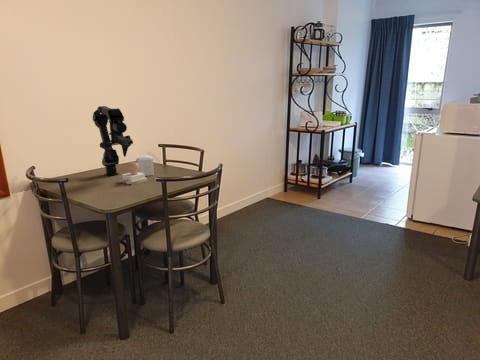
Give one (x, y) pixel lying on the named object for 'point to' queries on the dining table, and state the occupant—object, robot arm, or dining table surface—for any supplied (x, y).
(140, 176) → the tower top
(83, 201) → the dining table surface
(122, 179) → the tower base
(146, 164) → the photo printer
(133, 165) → the pink small block
